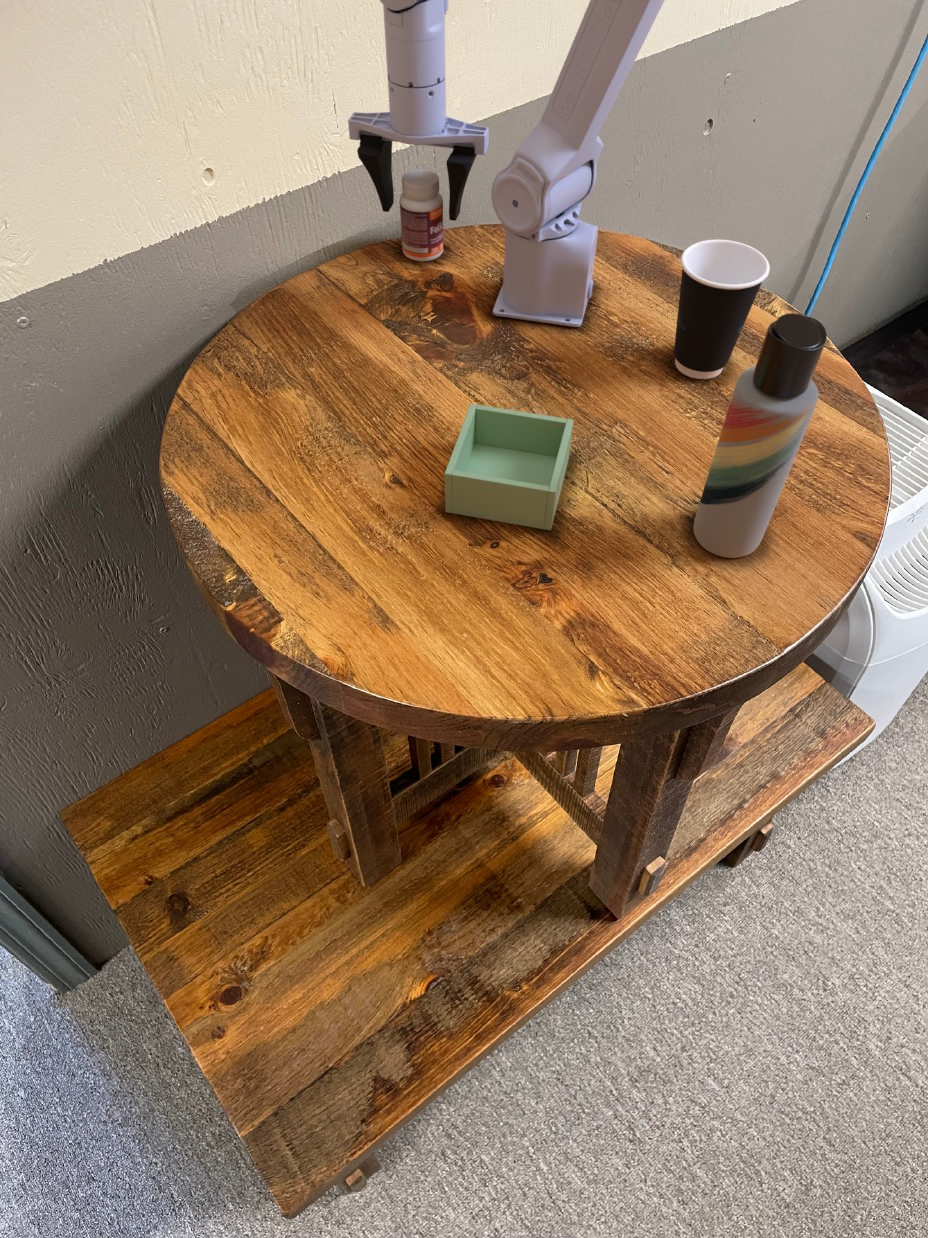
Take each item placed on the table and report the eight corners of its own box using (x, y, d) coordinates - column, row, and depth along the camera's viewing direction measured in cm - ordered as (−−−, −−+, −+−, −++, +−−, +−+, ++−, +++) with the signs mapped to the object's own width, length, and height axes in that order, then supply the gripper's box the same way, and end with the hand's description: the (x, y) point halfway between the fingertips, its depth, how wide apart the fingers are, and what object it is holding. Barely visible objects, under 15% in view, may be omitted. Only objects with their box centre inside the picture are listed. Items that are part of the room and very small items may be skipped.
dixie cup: (643, 352, 88) (663, 250, 79) (708, 333, 90) (734, 231, 81) (688, 397, 83) (714, 294, 75) (755, 375, 86) (788, 273, 77)
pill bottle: (438, 264, 98) (437, 190, 91) (398, 260, 98) (393, 185, 92) (447, 242, 101) (446, 169, 94) (408, 238, 101) (404, 165, 95)
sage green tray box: (568, 458, 78) (573, 419, 75) (550, 530, 73) (555, 492, 69) (470, 442, 80) (470, 403, 76) (445, 512, 74) (444, 473, 70)
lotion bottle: (722, 500, 75) (792, 291, 59) (774, 538, 72) (862, 329, 56) (677, 530, 73) (737, 321, 57) (729, 570, 70) (807, 363, 54)
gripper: (497, 67, 86) (492, 201, 97) (358, 52, 88) (369, 186, 99) (481, 96, 82) (478, 233, 93) (336, 80, 84) (350, 216, 95)
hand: (421, 211), depth 96 cm, fingers open, 7 cm apart
